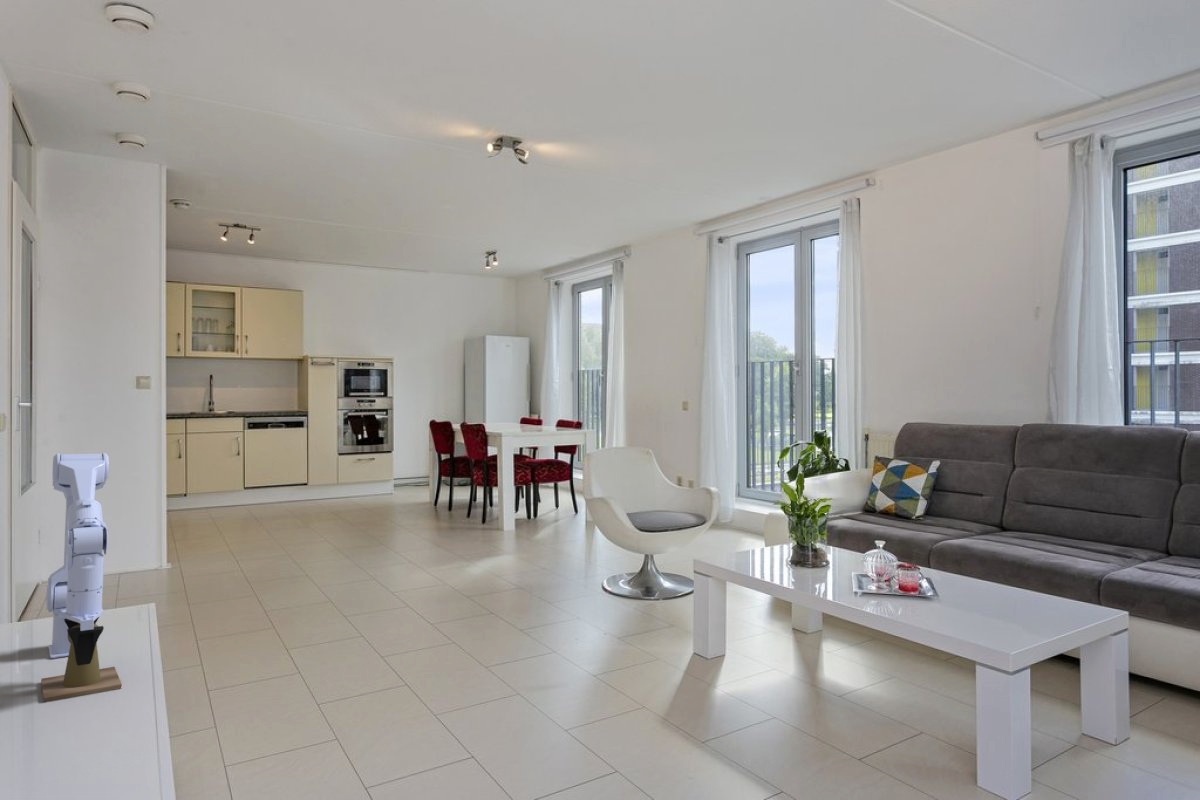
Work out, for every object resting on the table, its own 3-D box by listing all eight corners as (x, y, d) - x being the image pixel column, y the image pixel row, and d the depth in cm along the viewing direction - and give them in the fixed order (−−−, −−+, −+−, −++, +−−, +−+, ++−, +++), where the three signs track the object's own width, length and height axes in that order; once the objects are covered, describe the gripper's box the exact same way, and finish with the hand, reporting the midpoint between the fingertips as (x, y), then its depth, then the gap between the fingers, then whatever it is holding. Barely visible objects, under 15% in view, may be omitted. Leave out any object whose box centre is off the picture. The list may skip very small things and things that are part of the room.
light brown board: (41, 682, 143) (41, 678, 143) (114, 670, 151) (114, 666, 151) (43, 702, 134) (43, 698, 134) (121, 688, 142) (121, 684, 142)
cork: (83, 688, 139) (86, 630, 139) (54, 686, 140) (57, 628, 140) (108, 677, 145) (110, 621, 145) (80, 675, 146) (82, 619, 146)
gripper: (57, 583, 146) (54, 652, 146) (61, 599, 135) (58, 673, 134) (100, 579, 150) (97, 646, 150) (107, 594, 139) (105, 666, 139)
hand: (82, 658), depth 143 cm, fingers open, 7 cm apart
